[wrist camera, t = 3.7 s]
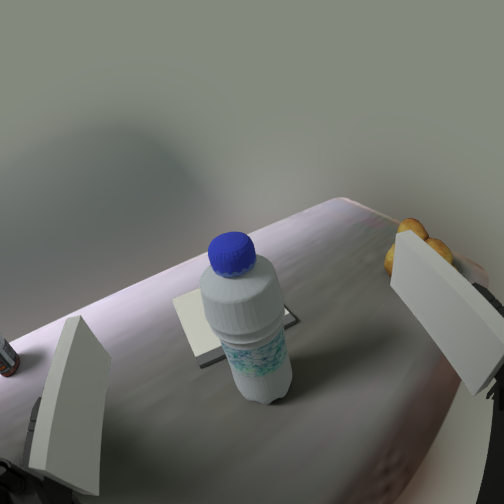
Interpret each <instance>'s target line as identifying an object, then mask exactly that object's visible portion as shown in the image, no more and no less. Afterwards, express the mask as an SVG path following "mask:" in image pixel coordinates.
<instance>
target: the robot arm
mask: <svg viewBox="0 0 504 504" xmlns="http://www.w3.org/2000/svg"><path fill="white" fill-rule="evenodd" d="M390 286H391V287H392V288H393V289H394V290H395V292H396V293H397V294H398V295H399V297H400V298H401V299H402V300H403V301H404V303H405V304H406V305H407V306H408V308H409V309H410V310H411V311H412V313H413V314H414V315H415V316H416V318H417V319H418V320H419V322H420V323H421V324H422V325H423V327H424V328H425V329H426V331H427V332H428V333H429V335H430V336H431V337H432V339H433V340H434V341H435V343H436V344H437V345H438V347H439V348H440V349H441V351H442V352H443V354H444V355H445V356H446V358H447V359H448V360H449V362H450V363H451V365H452V366H453V368H454V369H455V370H456V372H457V373H458V375H459V376H460V378H461V379H462V381H463V382H464V384H465V385H466V386H467V388H468V389H469V391H470V393H471V394H472V396H475V395H476V394H478V393H479V392H480V391H482V390H483V389H484V388H486V387H487V386H488V385H489V383H490V382H491V381H492V379H493V378H495V379H496V383H495V384H494V385H493V387H492V388H491V389H490V391H489V392H488V393H487V397H486V399H489V398H490V396H491V395H492V394H493V393H494V395H493V397H492V399H493V400H494V405H493V417H492V426H491V435H490V442H489V448H488V454H487V460H486V465H485V470H484V474H483V479H482V483H481V487H480V491H479V494H478V498H477V502H476V504H504V306H502V304H501V303H500V302H499V301H498V300H496V299H495V297H494V296H493V295H492V294H491V293H490V292H489V291H488V290H487V289H486V288H485V287H483V286H481V285H479V284H477V283H473V284H470V283H469V282H468V281H467V280H466V279H465V278H464V277H463V276H462V275H461V274H460V273H459V272H458V271H457V270H456V269H455V268H454V267H453V266H451V265H450V264H449V263H448V262H447V261H446V260H445V259H444V258H443V257H442V256H440V255H439V254H438V253H437V252H436V251H435V250H434V249H433V248H431V247H430V246H429V245H428V244H427V243H426V242H424V241H423V240H422V239H421V238H420V237H419V236H417V235H416V234H415V233H414V232H413V231H411V230H407V231H404V232H400V233H397V234H396V241H395V251H394V260H393V269H392V276H391V284H390ZM110 364H111V357H110V355H109V354H108V353H107V351H106V350H105V349H104V348H103V346H102V345H101V344H100V342H99V341H98V339H97V338H96V337H95V335H94V334H93V333H92V331H91V330H90V328H89V327H88V325H87V324H86V323H85V321H84V320H83V318H82V317H81V315H80V316H76V317H71V318H67V319H66V322H65V325H64V327H63V330H62V333H61V336H60V339H59V342H58V344H57V347H56V350H55V354H54V357H53V360H52V363H51V366H50V370H49V373H48V377H47V380H46V384H45V387H44V391H43V395H42V397H39V398H38V400H37V401H36V403H35V405H34V407H33V409H32V413H31V417H30V422H29V426H28V432H27V436H26V442H25V447H24V453H23V460H22V465H21V468H19V467H18V466H16V465H14V464H13V463H11V462H9V461H8V460H6V459H5V458H0V504H80V502H79V501H78V499H77V498H76V497H75V496H74V495H72V490H74V491H77V492H79V493H81V494H86V495H94V496H99V472H100V451H101V437H102V425H103V415H104V407H105V398H106V391H107V383H108V377H109V370H110Z"/></svg>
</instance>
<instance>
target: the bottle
mask: <svg viewBox="0 0 504 504" xmlns="http://www.w3.org/2000/svg"><path fill="white" fill-rule="evenodd" d="M208 256H209V260H210V263H211V265H210V266H209V267H208V268H207V269H206V270H205V271H204V273H203V274H202V276H201V279H200V291H201V296H202V301H203V306H204V313H205V317H206V320H207V322H208V323H209V324H210V328H211V330H212V331H213V333H214V334H215V335H216V336H217V337H218V338H219V339H220V342H221V344H222V347H223V349H224V352H225V354H226V357H227V359H228V362H229V364H230V366H231V370H232V373H233V377H234V380H235V383H236V385H237V387H238V389H239V390H240V392H241V394H242V395H243V396H244V397H245V398H246V399H247V400H249V401H256V402H260V403H262V404H265V405H266V404H270V403H271V402H272V401H273V400H275V399H277V398H279V397H280V398H283V397H284V396H285V395H286V394H287V392H288V389H289V386H290V384H291V381H292V368H291V363H290V360H289V356H288V353H287V346H286V339H285V333H284V326H283V319H284V316H285V306H284V294H283V292H282V290H281V287H280V284H279V281H278V278H277V275H276V272H275V269H274V267H273V265H272V263H271V262H270V261H269V260H268V259H266V258H265V257H263V256H260V255H257V254H256V253H255V248H254V244H253V242H252V240H251V239H250V237H249V236H247V235H246V234H244V233H242V232H228V233H224V234H221V235H219V236H218V237H216V238H215V239H213V240H212V242H211V243H210V245H209V248H208Z"/></svg>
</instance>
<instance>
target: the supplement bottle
mask: <svg viewBox="0 0 504 504" xmlns="http://www.w3.org/2000/svg"><path fill="white" fill-rule="evenodd" d="M18 365H19V356H18V354H17V353H16V352H15V351H14V349H13V348H12V347H11V346H10V345H9V343H8V342H7V341H6V340H5V338H4V337H3V336H2V335H1V333H0V374H1V375H2V376H9V375H11V374H13V373H14V371H15V370H16V369H17V367H18Z"/></svg>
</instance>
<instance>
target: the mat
mask: <svg viewBox="0 0 504 504" xmlns="http://www.w3.org/2000/svg"><path fill="white" fill-rule="evenodd" d="M172 301H173V303H174V306H175V309H176V311H177V314H178V316H179V319H180V321H181V324H182V326H183V329H184V331H185V333H186V336H187V338H188V341H189V343H190V345H191V348H192V350H193V352H194V355H195V357H196V359H197V361H198V364H199V366H200V368H204V367H206V366H208V365H210V364H213V363H215V362H217V361H219V360H222V359H224V358H226V354H225V352H224V349H223V347H222V344H221V342H220V339H219V338H218V337H217V336H216V335H215V334H214V333H213V331H212V330H211V328H210V324H209V323H208V322H207V320H206V317H205V313H204V306H203V301H202V296H201V291H200V288H198V289H196V290H193V291H191V292H189V293H186V294H184V295H181V296H179V297H177V298H174V299H172ZM295 323H296V319H295V318H294V317H293V316H292V315H291V314H290V313H289V312H288V311H287V310H286V309H285V316H284V319H283V326H284V329H286V328H288V327H290V326H292V325H294V324H295Z"/></svg>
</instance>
